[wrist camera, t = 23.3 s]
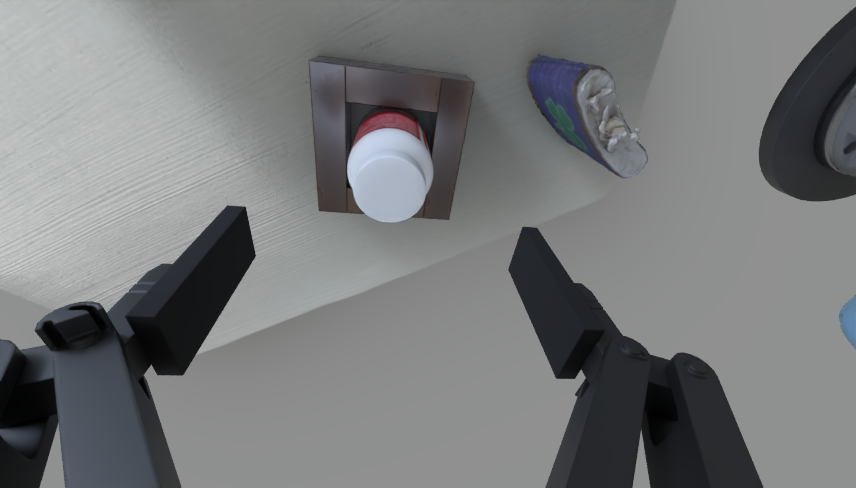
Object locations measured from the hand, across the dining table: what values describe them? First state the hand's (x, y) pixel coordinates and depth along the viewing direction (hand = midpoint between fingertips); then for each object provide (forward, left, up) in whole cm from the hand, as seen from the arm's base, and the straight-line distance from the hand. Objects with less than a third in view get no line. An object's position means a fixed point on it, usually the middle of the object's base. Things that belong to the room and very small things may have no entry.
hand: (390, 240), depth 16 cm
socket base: (0, 0, -17) cm, 17 cm away
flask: (-14, -5, -17) cm, 23 cm away
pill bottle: (0, 0, -17) cm, 17 cm away
